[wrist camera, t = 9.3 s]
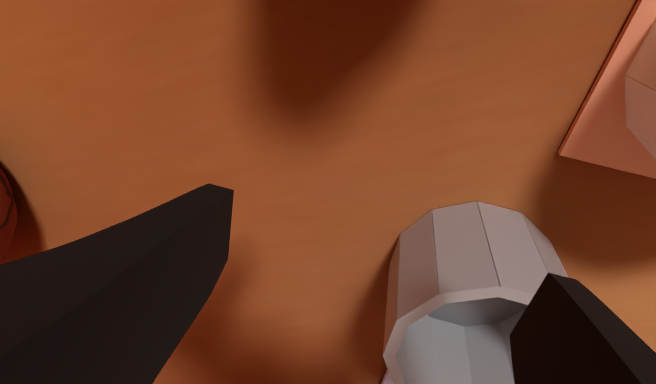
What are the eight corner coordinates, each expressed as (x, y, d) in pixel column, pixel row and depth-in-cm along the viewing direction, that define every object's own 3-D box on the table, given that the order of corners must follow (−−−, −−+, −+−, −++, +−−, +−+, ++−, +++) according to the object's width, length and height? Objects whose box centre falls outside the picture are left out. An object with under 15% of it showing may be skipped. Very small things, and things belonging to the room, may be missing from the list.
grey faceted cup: (512, 340, 23) (541, 446, 18) (376, 302, 24) (366, 396, 19) (583, 228, 19) (645, 324, 14) (416, 185, 20) (418, 264, 15)
